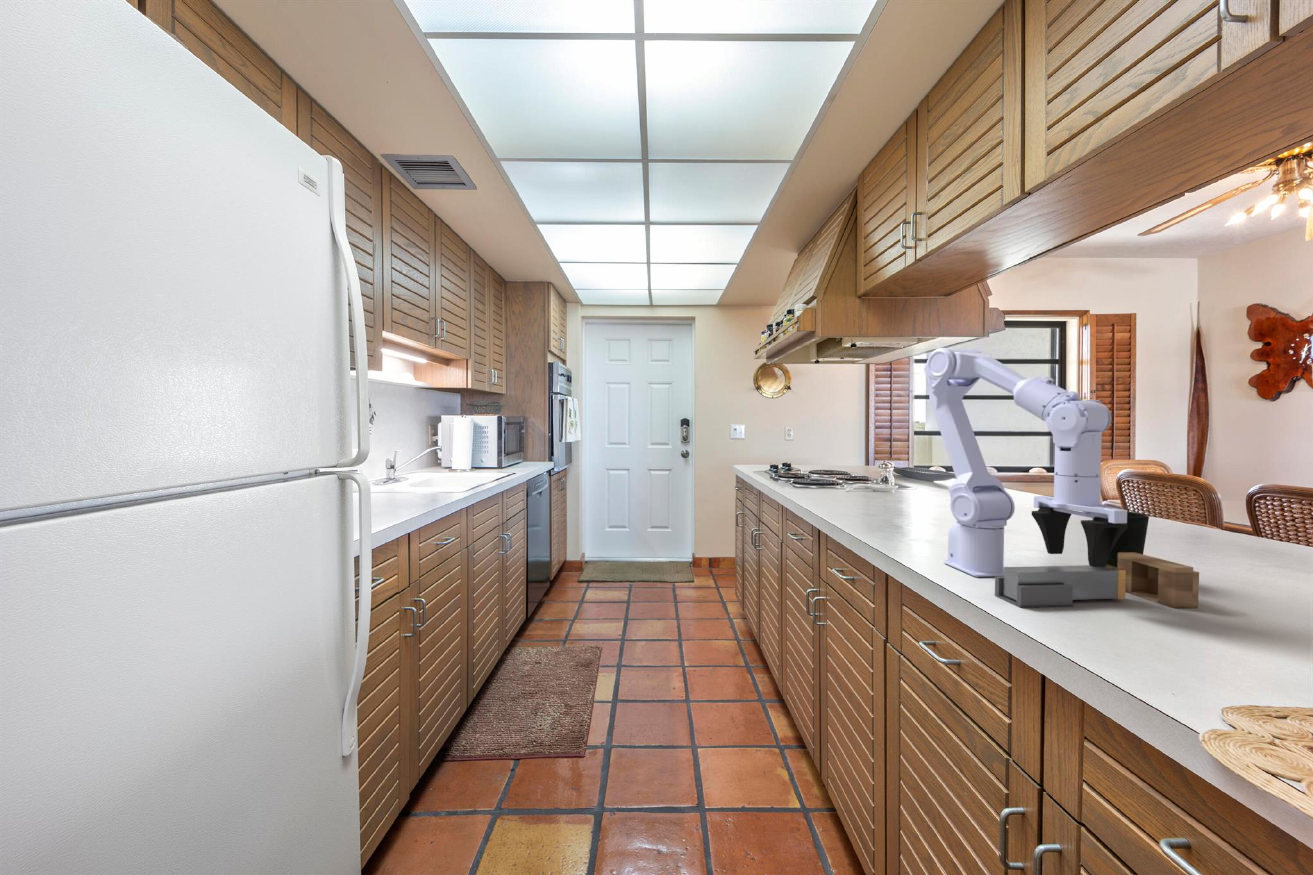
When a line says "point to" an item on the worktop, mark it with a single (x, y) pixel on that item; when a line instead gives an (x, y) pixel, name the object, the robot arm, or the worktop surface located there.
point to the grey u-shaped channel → (1037, 595)
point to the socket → (1160, 580)
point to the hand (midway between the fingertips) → (1075, 559)
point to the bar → (1069, 580)
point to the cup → (1130, 537)
